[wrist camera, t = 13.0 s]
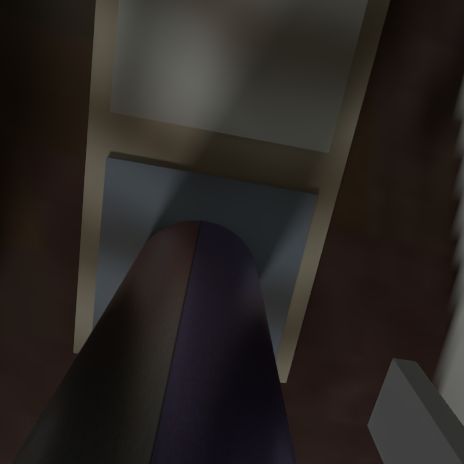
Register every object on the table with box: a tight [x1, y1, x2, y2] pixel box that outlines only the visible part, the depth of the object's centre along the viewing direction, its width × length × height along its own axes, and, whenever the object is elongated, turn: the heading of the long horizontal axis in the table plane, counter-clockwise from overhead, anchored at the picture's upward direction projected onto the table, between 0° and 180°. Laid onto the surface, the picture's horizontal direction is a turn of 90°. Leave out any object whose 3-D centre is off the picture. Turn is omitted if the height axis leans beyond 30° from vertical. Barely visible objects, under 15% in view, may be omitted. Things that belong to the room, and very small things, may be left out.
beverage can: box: [12, 220, 297, 464], centre depth 12 cm, size 6×6×15 cm
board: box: [73, 0, 390, 383], centre depth 18 cm, size 24×12×2 cm, turn 170°
